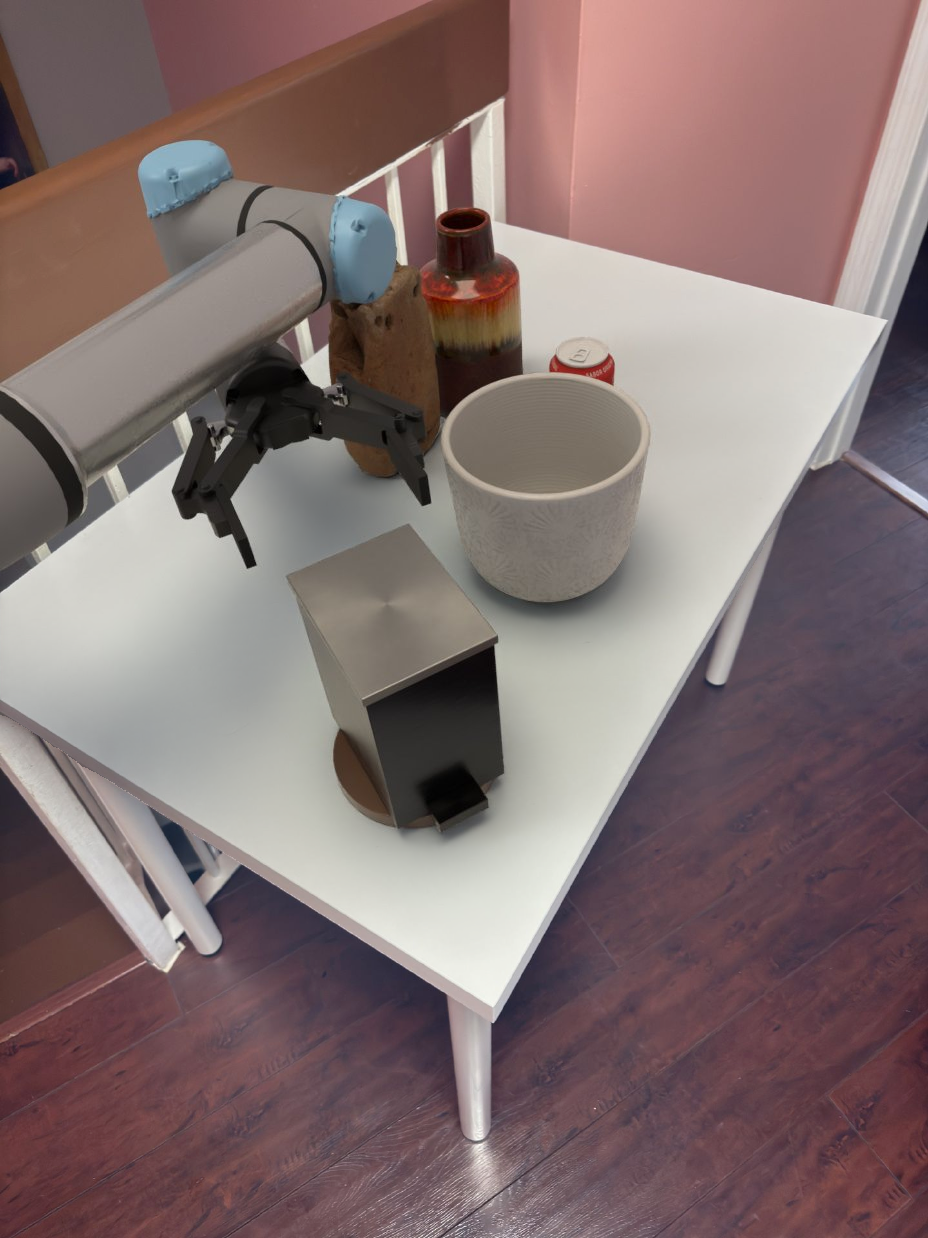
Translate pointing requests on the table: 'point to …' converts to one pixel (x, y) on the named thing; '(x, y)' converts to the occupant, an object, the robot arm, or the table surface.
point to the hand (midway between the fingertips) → (338, 521)
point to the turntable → (367, 786)
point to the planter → (546, 481)
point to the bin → (406, 675)
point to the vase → (471, 307)
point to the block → (388, 356)
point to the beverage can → (584, 359)
